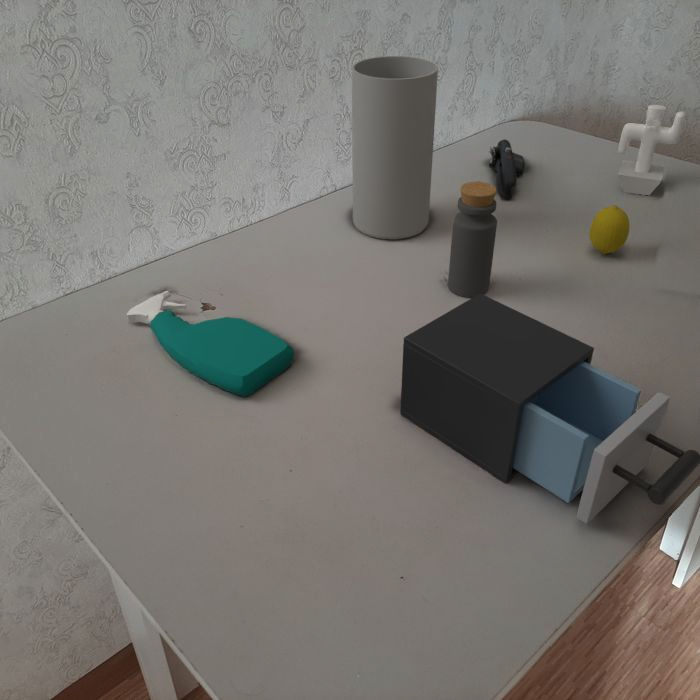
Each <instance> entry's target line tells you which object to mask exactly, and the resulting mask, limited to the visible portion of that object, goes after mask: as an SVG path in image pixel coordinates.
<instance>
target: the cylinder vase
mask: <svg viewBox="0 0 700 700" xmlns="http://www.w3.org/2000/svg"><path fill="white" fill-rule="evenodd" d="M438 73H439V66H438V65H437V63H435V62H433V61H430V60H428V59H424V58H420V57H413V56H404V55H386V56H385V55H384V56H375V57H369V58H364V59H361V60H359V61H356V62H355V63H353V64H352V65H351V144H352V145H351V146H352V147H351V148H352V151H351V152H352V153H351V154H352V155H351V156H352V163H351V164H352V171H351V172H352V222H353V225H354V227H355V228H356V229H357V230H358V231H359V232H360V233H362V234H364V235H366V236H368V237H371V238H376V239H379V240H380V239H381V240H402V239H407V238H412V237H414V236H416V235H419V234H421V233H422V232H423V231H424V230H425V229H426V228H427V227H428V225H429V220H430V206H431V205H430V203H431V189H432V175H433V174H432V173H433V172H432V171H433V157H434V155H433V154H434V138H435V123H436V107H437V93H438V92H437V91H438V90H437V89H438V76H439V74H438Z"/></svg>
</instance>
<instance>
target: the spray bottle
mask: <svg viewBox="0 0 700 700" xmlns="http://www.w3.org/2000/svg"><path fill="white" fill-rule="evenodd" d="M171 297H172V296H171V293H170V291H169V290H165V291H163V292H161V293H157V294H155V295H154V296H151V297H149V298H147V299H146V300H144V301H143V302H140V303H138V304H137V305H135V306H132V307H131V308H130V309H129V310H128V312H127V313H126V319H127V323H143V324H147V325H149V326H150V330H151V331H152V332H153V335H154V336H155V337H156V339H157V341H158V342H159V344H160V346H161V347H162V348H163V349H164V351H165V352H166V353H167V355H168V356H169V357H170V358H172V360H174V361H175V363H177V364H178V365H180V366H181V367H183V368H184V369H185V370H187V371H188V372H190V373H192V374H193V375H194V376H196V377H198V378H200V379H202V380H204V381H206V382H208V383H209V384H212V385H214V386H215V387H218V388H220V389H222V390H224V391H227V392H229V393H232V394H234V395H237V396H242V397H248V396H250V395H251V394H253V393H254V392H256V391H257V390H259V389H260V388H261V387H263V386H264V385H266V384H267V383H269V382H270V381H271V380H273V379H274V378H276V377H277V376H278V375H280V374H281V373H283V372H284V371H287V369H288V368H289V366H290V365H291V364H292V362H293V361H294V354H295V352H294V348H293V347H292V346H291V345H290V344H289V343H287V342H286V341H285V340H284V339H282V338H281V337H279V336H277V335H275V334H274V333H272V332H270V331H268V330H267V329H266V328H263V327H261V326H260V325H257V324H255V323H252V322H250V321H247V320H245V319H243V318H238V317H230V316H225V317H219V318H213V319H212V318H211V319H206V320H203V321H200V322H197V323H190V322H189V321H187V320H183V318H181V317H180V316H177V315H176V313H175V312H174V311H173V310H170V309H187V304H184V303H177V302H172V301H167V300H168V299H169V298H171Z"/></svg>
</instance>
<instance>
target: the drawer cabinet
mask: <svg viewBox="0 0 700 700" xmlns="http://www.w3.org/2000/svg"><path fill="white" fill-rule="evenodd" d="M402 346H403V347H402V366H401V367H402V369H401V371H402V372H401V388H400V389H401V390H400V391H401V392H400V413H399V414H400V416H402V417H404V418H405V419H406V420H408V421H410V422H411V423H413V424H414V425H416V426H417V427H418V428H420V429H422V430H423V431H425V432H426V433H428V434H429V435H431V436H432V437H434V438H435V439H437V440H438V441H439V442H441V443H443V444H444V445H446V446H447V447H449V448H450V449H451V450H454V451H455V452H456V453H458V454H459V455H461V457H464V458H465V459H467V460H469V461H470V462H472V463H473V464H474V465H476V466H477V467H478V468H481V469H482V470H484V471H485V472H487V473H488V474H490V475H491V476H493V477H494V478H496V479H497V480H499V481H500V482H502V483H503V484H505V485H507V484H508V483H509V482H511V480H513V479H514V478H515V477H517V475H518V474H521V473H520V472H519V471H517V470H516V469H514V468H513V464H514V458H515V452H516V447H517V441H518V436H519V430H520V424H521V419H522V413H523V406H525V405H526V404H527V403H529V402H530V401H531V400H533V399H534V398H535V397H536V396H538V395H539V394H540V393H542V392H543V391H544V390H546V389H547V388H548V387H550V386H551V385H552V384H554V383H555V382H556V381H558V380H559V379H560V378H562V377H563V376H564V375H566V374H567V373H568V372H569V371H571V370H572V369H573V368H575V367H576V366H577V365H579V364H580V363H581V362H583V361H584V362H586V363H588V364H590V365H591V363H592V359H593V355H594V351H595V348H594V347H593V346H591V345H589V344H587V343H585V342H582V341H581V340H579V339H576V338H574V337H572V336H571V335H568V334H567V333H564V332H562V331H561V330H558V329H555V328H553V327H551V326H549V325H548V324H546V323H543V322H541V321H539V320H537V319H535V318H533V317H530V316H529V315H526V314H524V313H522V312H520V311H518V310H516V309H513V308H512V307H510V306H508V305H506V304H503V303H502V302H499V301H498V300H495V299H493V298H491V297H489V296H487V295H485V294H484V295H483V294H478V295H476V296H475V297H470V299H468V300H466V301H463V303H461V304H459V305H458V306H456V307H453V309H450V310H449V311H447V312H445V313H444V314H442V315H440V316H439V317H437V318H435V319H433V320H432V321H430V322H428V323H426V324H425V325H423V326H420V328H418V329H416V330H414V331H413V332H410V333H409V334H407V335H406V336H404V337H403V344H402Z"/></svg>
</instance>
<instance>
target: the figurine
mask: <svg viewBox="0 0 700 700" xmlns="http://www.w3.org/2000/svg"><path fill="white" fill-rule="evenodd" d="M666 111H667V107H666V106H664V105H661V104H649V105H648V106H647V111H646V120H645V123H644V124H643V123H635V122H634V123H633V122H628V123H626V124H624V126H623V127H622V131H621V135H620V139H619V144H618V148H617V152H618V154H619V155H625V154H627V153H628V150H629V147H630V143H631V141H636V142H637V141H639V142H640V145H639V149H638V153H637V158H636V161H631V160H625V159H623V160H622V163H621V165H620V168H619V171H618V174H617V175H618V180H619V182H620V186H621V190H622V193H625V194H631V193H633V195H638V194H642V195H641V196H645V195H649V196H650V195H652V193H653V192H654V191H655V190H656V188H657V187H658V186H659V185H660V184H661V183H662V181H663V178H664V172H665V168H666V165H662V164H654V163H652V161H653V158H654V153H655V150H656V146H657V144H661V145H670V146H673V145H676V144H677V143H678V142H679V141H680V138H681V135H682V131H683V128H684V125H685V120H686V116H687V115H686V113H685V111H681V110H680V111H677V112H676V113H675V116H674V119H673V123H672V125H671V126H670V127H668V126H662V121H663V119H664V118H665V114H666ZM634 193H635V194H634Z"/></svg>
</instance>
